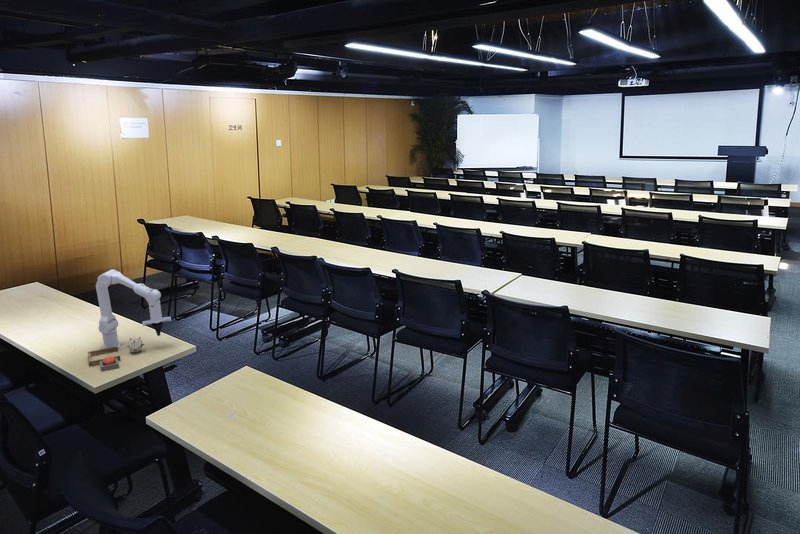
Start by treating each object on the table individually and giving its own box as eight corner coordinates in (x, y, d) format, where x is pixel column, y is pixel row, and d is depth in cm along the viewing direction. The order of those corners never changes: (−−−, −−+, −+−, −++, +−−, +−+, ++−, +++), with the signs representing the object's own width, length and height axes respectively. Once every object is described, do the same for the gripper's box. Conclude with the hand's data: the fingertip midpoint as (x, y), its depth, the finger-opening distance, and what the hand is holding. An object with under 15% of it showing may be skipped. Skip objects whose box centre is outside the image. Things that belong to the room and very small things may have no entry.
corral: (88, 356, 293) (87, 351, 292) (117, 350, 300) (117, 346, 299) (89, 366, 280) (89, 362, 279) (120, 360, 287) (119, 356, 286)
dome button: (103, 363, 280) (102, 355, 279) (114, 361, 283) (113, 353, 282) (104, 366, 276) (102, 359, 275) (115, 364, 279) (113, 357, 278)
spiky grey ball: (138, 359, 297) (135, 350, 290) (125, 353, 298) (121, 343, 290) (149, 346, 303) (146, 337, 295) (135, 340, 304) (132, 331, 296)
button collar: (100, 365, 281) (99, 361, 281) (117, 362, 285) (117, 357, 285) (101, 371, 275) (100, 367, 274) (119, 367, 279) (118, 363, 278)
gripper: (142, 316, 291) (145, 340, 295) (170, 311, 298) (173, 334, 302) (140, 312, 297) (143, 336, 301) (168, 308, 304) (171, 330, 308)
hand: (158, 335), depth 302 cm, fingers closed
